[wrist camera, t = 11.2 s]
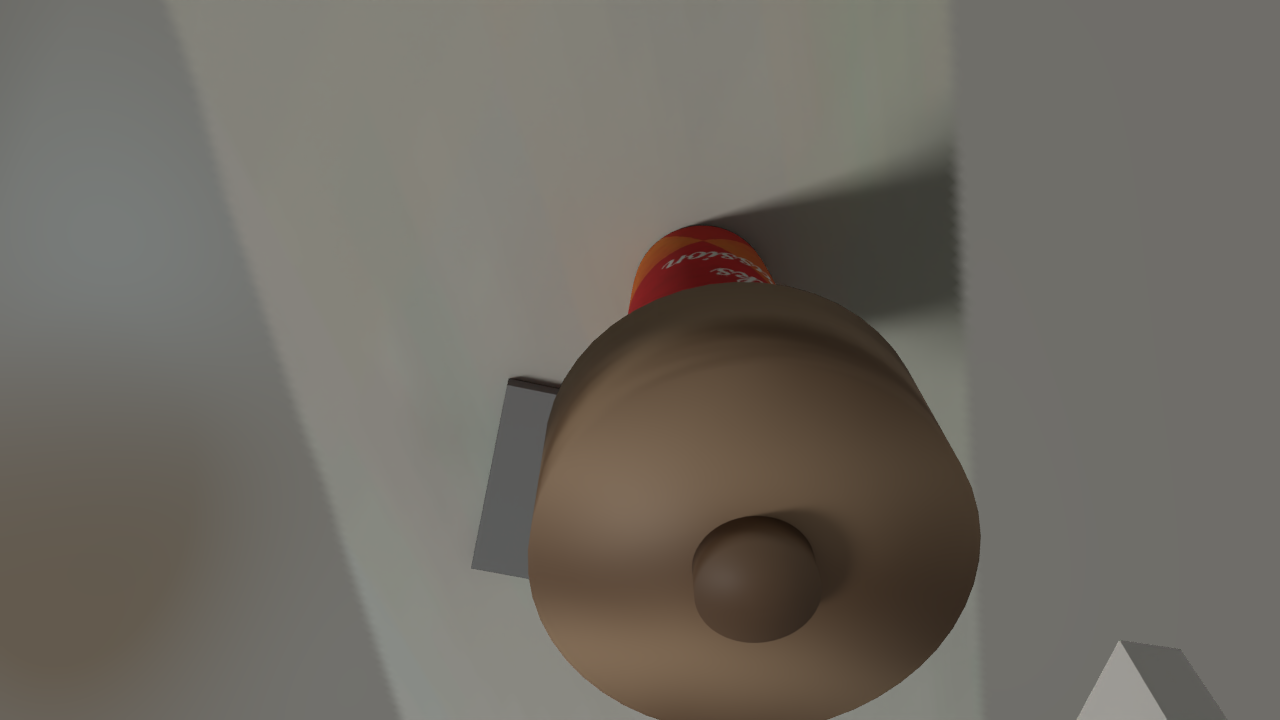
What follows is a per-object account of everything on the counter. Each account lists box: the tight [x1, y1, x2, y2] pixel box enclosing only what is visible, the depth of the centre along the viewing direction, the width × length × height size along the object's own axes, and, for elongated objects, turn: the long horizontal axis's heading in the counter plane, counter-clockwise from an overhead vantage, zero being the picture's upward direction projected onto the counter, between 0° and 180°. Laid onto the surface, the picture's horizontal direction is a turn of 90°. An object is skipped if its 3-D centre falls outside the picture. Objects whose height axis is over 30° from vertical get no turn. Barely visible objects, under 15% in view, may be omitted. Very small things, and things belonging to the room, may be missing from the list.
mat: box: [471, 379, 559, 579], centre depth 46 cm, size 10×10×1 cm
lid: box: [528, 282, 981, 720], centre depth 26 cm, size 11×11×6 cm
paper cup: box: [628, 226, 776, 314], centre depth 35 cm, size 8×8×14 cm
